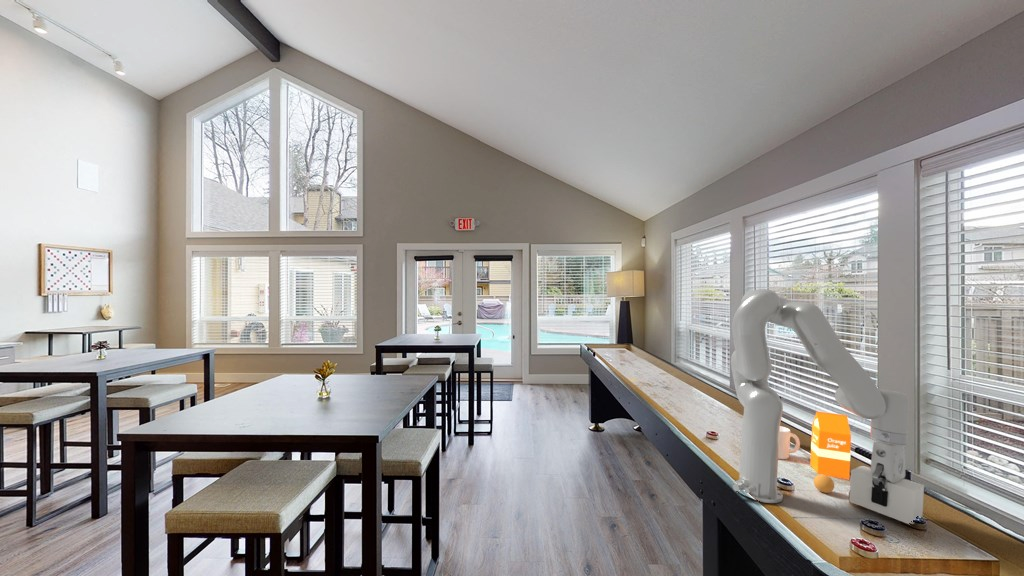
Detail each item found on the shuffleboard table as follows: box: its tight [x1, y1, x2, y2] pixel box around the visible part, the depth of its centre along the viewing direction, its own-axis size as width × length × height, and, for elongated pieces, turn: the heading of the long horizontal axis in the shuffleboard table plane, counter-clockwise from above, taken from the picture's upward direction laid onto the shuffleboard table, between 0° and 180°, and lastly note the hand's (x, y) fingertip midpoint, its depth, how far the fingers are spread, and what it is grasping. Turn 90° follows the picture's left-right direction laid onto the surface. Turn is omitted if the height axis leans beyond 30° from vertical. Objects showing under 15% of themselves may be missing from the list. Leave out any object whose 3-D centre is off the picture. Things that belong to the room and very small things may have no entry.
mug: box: [778, 425, 801, 460], centre depth 154 cm, size 12×8×10 cm
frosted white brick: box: [849, 465, 925, 525], centre depth 114 cm, size 8×13×9 cm, turn 32°
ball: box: [813, 474, 835, 494], centre depth 126 cm, size 5×5×5 cm
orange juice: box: [810, 411, 852, 480], centre depth 142 cm, size 8×9×20 cm
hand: (884, 500), depth 114 cm, fingers closed on frosted white brick, 7 cm apart
